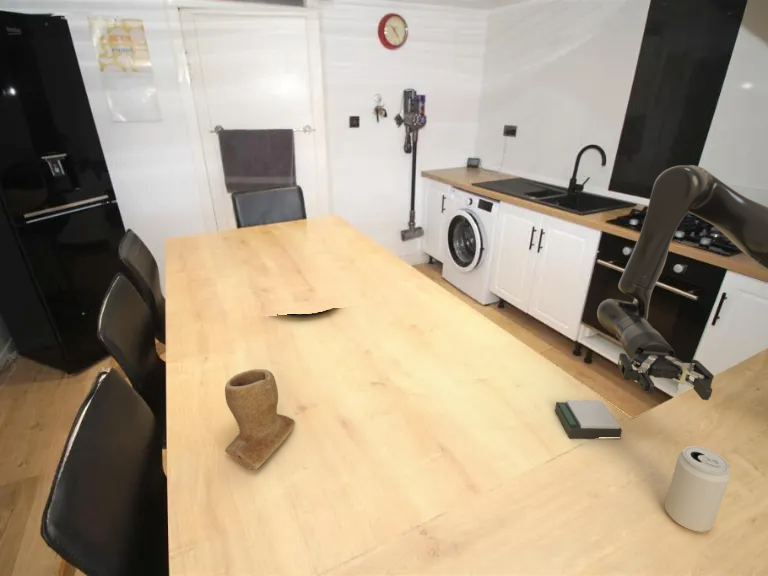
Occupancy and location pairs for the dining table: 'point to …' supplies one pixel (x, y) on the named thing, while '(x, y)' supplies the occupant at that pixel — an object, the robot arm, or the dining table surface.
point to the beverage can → (697, 488)
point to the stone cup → (255, 417)
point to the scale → (587, 419)
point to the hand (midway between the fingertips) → (679, 392)
